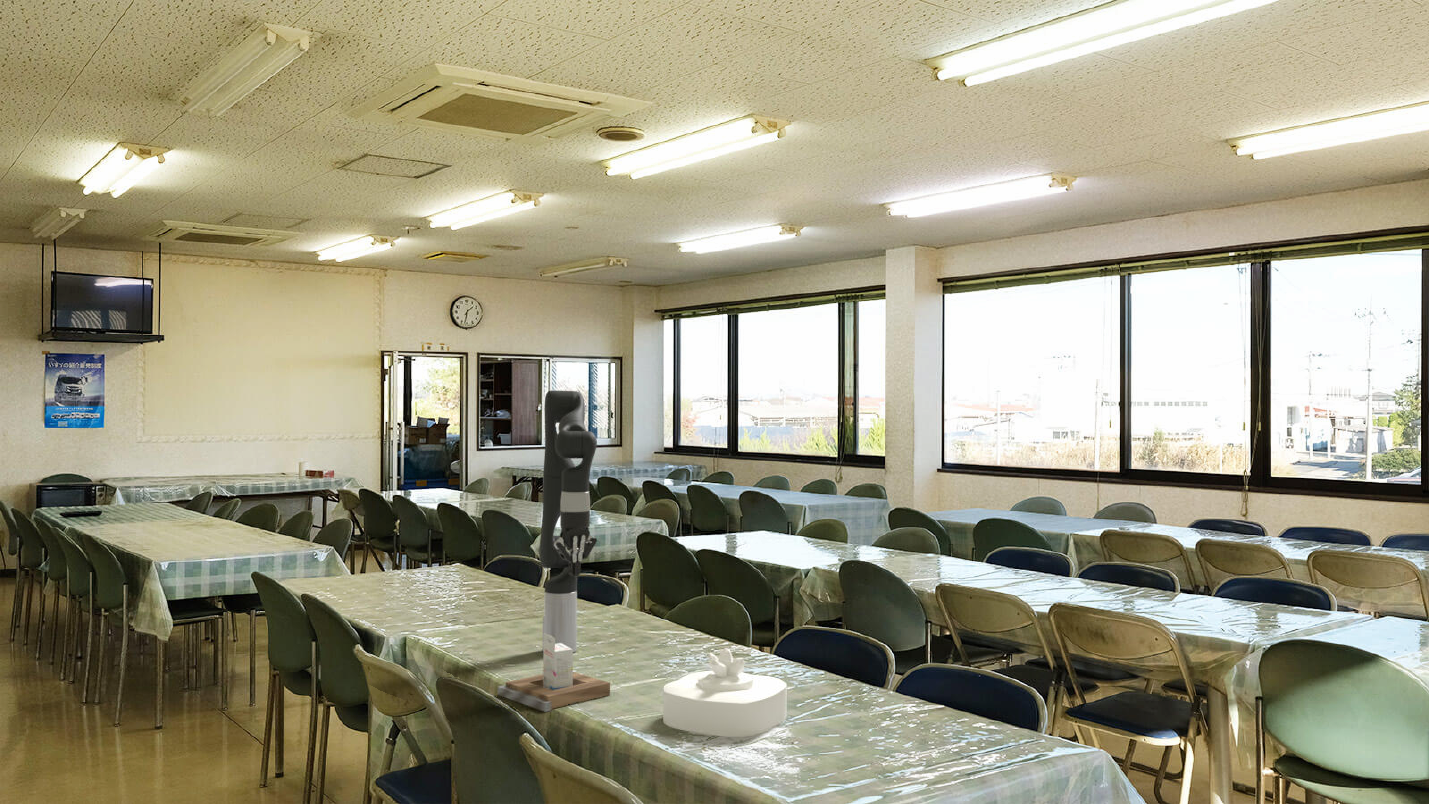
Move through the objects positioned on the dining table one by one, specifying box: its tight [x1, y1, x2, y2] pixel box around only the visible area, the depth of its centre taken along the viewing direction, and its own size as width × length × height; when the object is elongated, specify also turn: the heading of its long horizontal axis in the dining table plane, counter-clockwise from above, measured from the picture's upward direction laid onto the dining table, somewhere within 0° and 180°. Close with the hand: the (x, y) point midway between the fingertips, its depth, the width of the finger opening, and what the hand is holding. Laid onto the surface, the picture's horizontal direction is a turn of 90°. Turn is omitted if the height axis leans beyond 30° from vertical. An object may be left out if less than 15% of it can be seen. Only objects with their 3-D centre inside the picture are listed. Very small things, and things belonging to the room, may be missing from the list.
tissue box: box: [662, 646, 788, 738], centre depth 235 cm, size 25×25×16 cm
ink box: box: [542, 633, 574, 690], centre depth 254 cm, size 8×5×15 cm, turn 29°
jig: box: [497, 671, 611, 713], centre depth 253 cm, size 20×20×3 cm
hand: (574, 576), depth 267 cm, fingers closed
